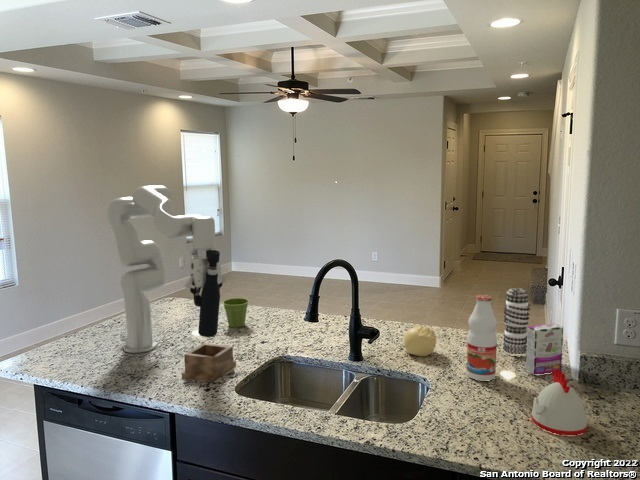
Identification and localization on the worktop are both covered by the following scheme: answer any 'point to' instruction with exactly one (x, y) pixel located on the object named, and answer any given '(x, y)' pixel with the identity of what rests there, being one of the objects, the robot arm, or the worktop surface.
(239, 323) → the plant pot
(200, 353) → the bottle stand
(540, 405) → the white and red dome
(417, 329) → the pale yellow round lump
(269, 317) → the worktop surface
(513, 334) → the decorative candle
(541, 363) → the candy bar box
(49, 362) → the worktop surface
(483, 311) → the fruit juice
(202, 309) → the black water bottle
